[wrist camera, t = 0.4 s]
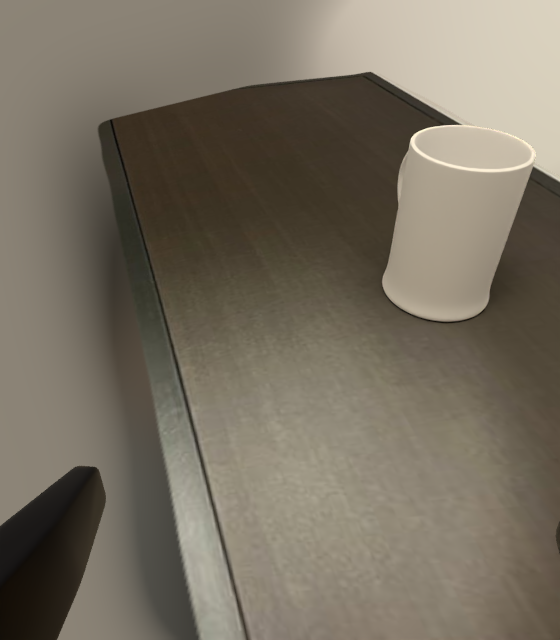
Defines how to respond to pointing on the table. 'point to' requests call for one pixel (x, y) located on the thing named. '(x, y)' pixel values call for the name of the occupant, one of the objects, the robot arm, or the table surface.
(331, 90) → the table surface
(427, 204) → the mug
